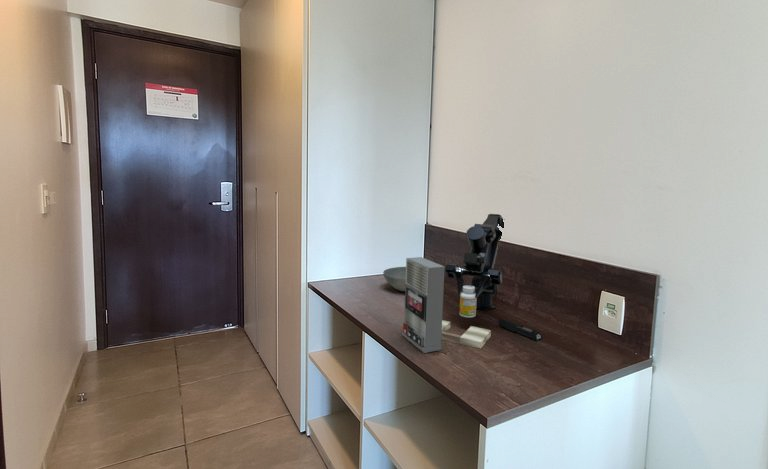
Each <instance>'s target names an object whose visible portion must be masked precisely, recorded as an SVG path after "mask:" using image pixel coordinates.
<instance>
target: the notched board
mask: <svg viewBox="0 0 768 469" xmlns="http://www.w3.org/2000/svg"><path fill="white" fill-rule="evenodd" d="M449 329H451V321H448V320H443V319H442V335H441V341H447V342H451V343H454V344H459V345H463V346H468V347H471V348H476V349H482V348H483V347H484V345H485V344H486V343H487V341H488V340H490V338H491V337H492V336H491V335H492V330H490V329H487V328H483V327H478V326H472V325H470V326H469V328H468V329H467V330H465V332H463V334H462V335H460V334H455V333H451V332H447V331H448V330H449Z"/></svg>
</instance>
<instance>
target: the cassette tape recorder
mask: <svg viewBox="0 0 768 469" xmlns="http://www.w3.org/2000/svg"><path fill="white" fill-rule="evenodd" d="M405 260H406V261H405V262H406V263H405V267H406V284H405V293H404V294H405V295H404V320H403V321H404V322H403V325H402V332H401V336H402V337H403V338H405V339H406V340H408V342H409V343H411V344H412V345H413V346H414V347H416V348H417V349H418V350H420V351H421V352H422V353H423V354H427V353H432V352H437V351H442V350H443V349H442V347H443V346H442V340H441V335H442V320H443V311H444V309H443V308H444V287H445V265H441V264H439V263H436V262H434V261H431V260H429V259H426V258H424V257H421V256H418V257H417V256H415V257H406V259H405Z"/></svg>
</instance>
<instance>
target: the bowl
mask: <svg viewBox="0 0 768 469" xmlns="http://www.w3.org/2000/svg"><path fill="white" fill-rule="evenodd" d="M382 274H383V277H384V279H385V281H386V282H387V283H388V284H389V285H390V286H391V287H393V288H394V289H395V290H397V291H399V292H405V284H406V266H396V267H391V268H387V269H385V270H383V271H382Z"/></svg>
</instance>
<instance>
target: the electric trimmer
mask: <svg viewBox="0 0 768 469" xmlns="http://www.w3.org/2000/svg"><path fill="white" fill-rule="evenodd" d="M498 325H499V326H501V328H504V329H506V330H508V331H510V332H512V333H517V334H520V335H522V336H525V337H527V338H529V339H532V340H533V342H539V341H542V340H543V336H542V334H541V332H540V331H538V330H537V329H535V328H533V329H532V328H529V327H526V326H525V325H521V324H518V323H516V322H513V321H510V320H506V319H505V318H504V319H503V318H501V317H498Z"/></svg>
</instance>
